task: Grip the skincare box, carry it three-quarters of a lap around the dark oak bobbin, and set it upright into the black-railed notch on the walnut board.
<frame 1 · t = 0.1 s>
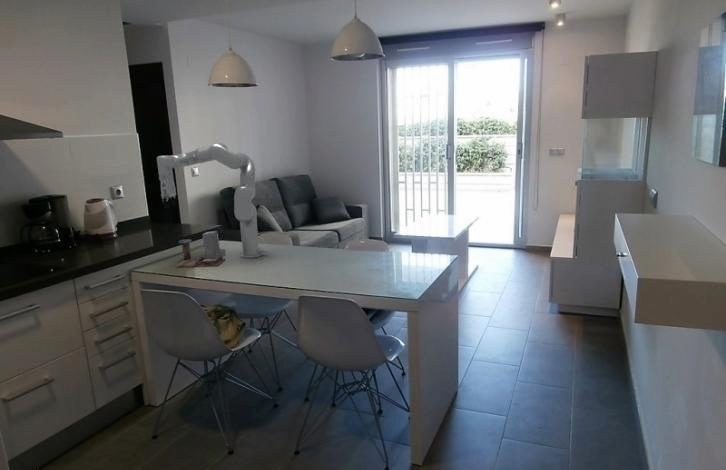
hand: (170, 206, 288), 31 cm above the table, tool pointing down, fingers open, 9 cm apart
skincare box: (213, 258, 290), on the table
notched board: (200, 264, 279), on the table
bobbin: (187, 260, 288), on the table
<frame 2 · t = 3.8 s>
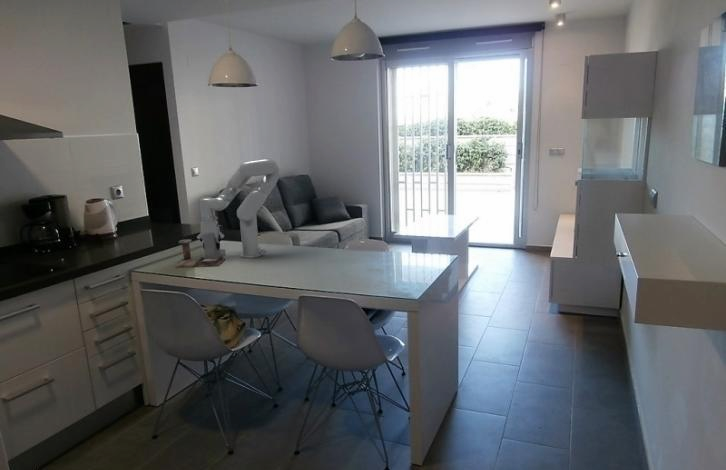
hand: (211, 248, 289), 6 cm above the table, tool pointing down, fingers closed on skincare box, 6 cm apart
skincare box: (213, 258, 290), on the table, touching gripper
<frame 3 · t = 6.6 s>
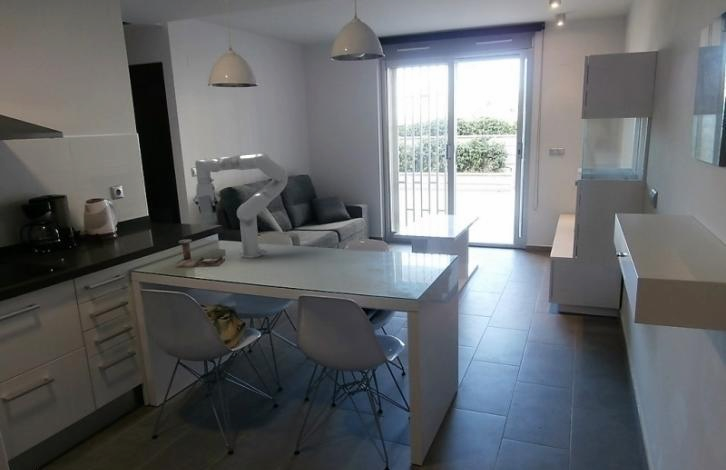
hand: (208, 212, 285), 27 cm above the table, tool pointing down, fingers closed on skincare box, 6 cm apart
skincare box: (209, 222, 286), point 21 cm above the table, touching gripper
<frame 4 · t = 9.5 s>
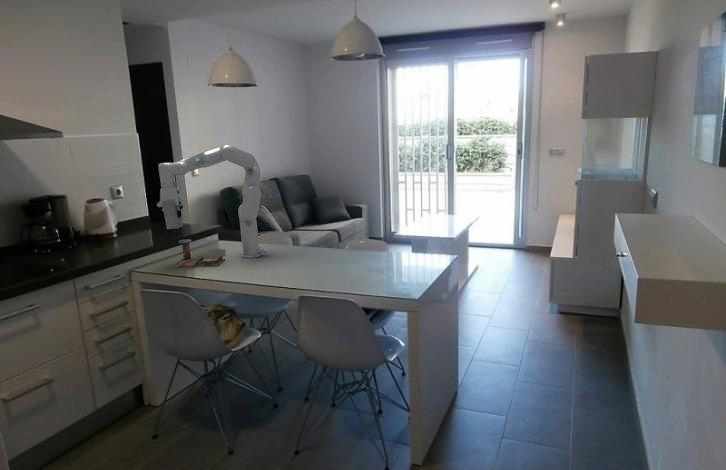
hand: (173, 217, 273), 27 cm above the table, tool pointing down, fingers closed on skincare box, 6 cm apart
skincare box: (174, 228, 274), point 21 cm above the table, touching gripper
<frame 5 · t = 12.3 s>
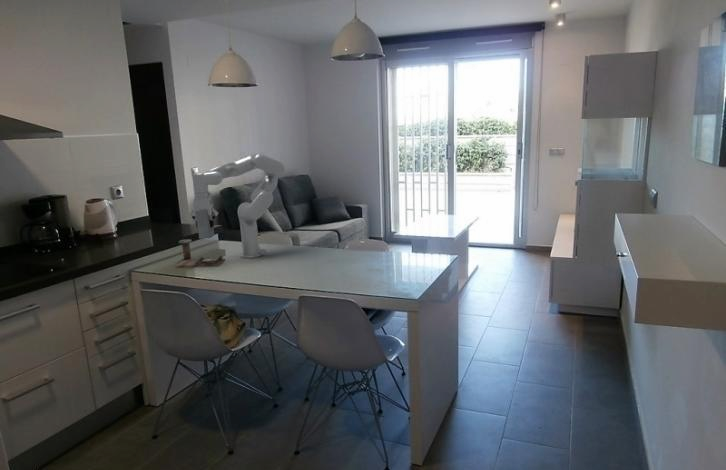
hand: (205, 227, 274), 21 cm above the table, tool pointing down, fingers closed on skincare box, 6 cm apart
skincare box: (206, 237, 275), point 15 cm above the table, touching gripper
when the fingers open (8 cm above the table, at t = 15.0 s): skincare box drops 1 cm, resting on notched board.
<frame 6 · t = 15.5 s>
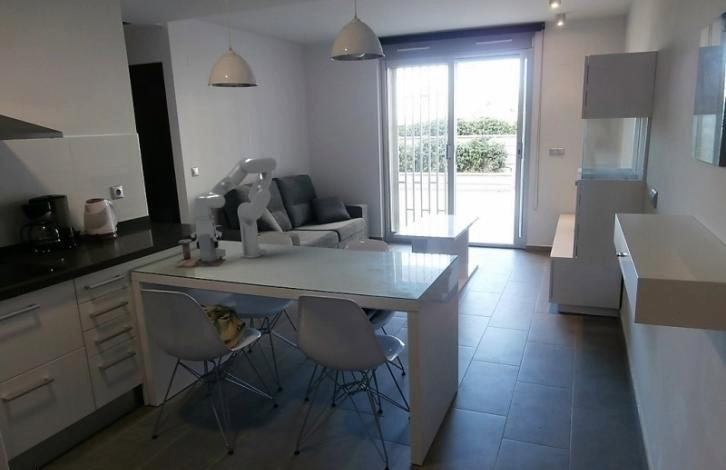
hand: (207, 248, 277), 9 cm above the table, tool pointing down, fingers open, 9 cm apart
skincare box: (209, 261, 278), point 1 cm above the table, touching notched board
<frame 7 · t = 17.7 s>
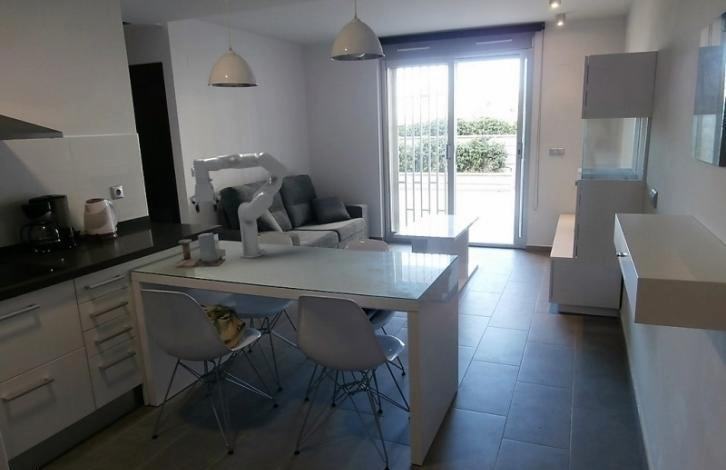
hand: (207, 211, 277), 29 cm above the table, tool pointing down, fingers open, 9 cm apart
nothing on the table moved.
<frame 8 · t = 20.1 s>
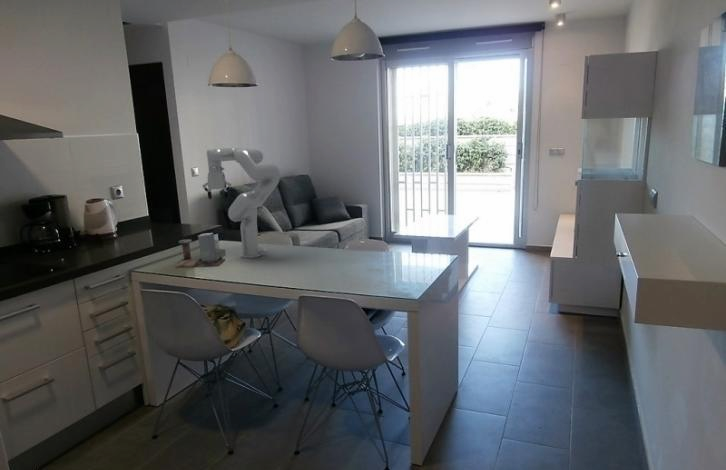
hand: (218, 198, 298), 33 cm above the table, tool pointing down, fingers open, 9 cm apart
nothing on the table moved.
at the end: skincare box 0.1 cm from the target spot on the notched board, point 1.2 cm above the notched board's base; skincare box tilted 0°; the gripper is holding nothing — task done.
